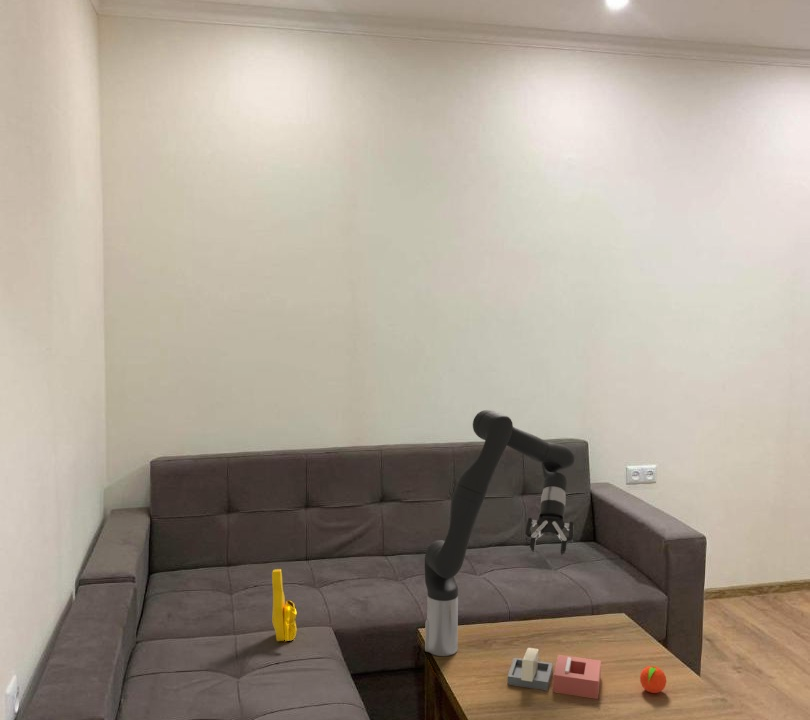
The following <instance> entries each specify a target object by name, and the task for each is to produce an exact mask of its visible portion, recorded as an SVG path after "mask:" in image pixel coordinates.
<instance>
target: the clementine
mask: <svg viewBox="0 0 810 720" xmlns="http://www.w3.org/2000/svg"><path fill="white" fill-rule="evenodd" d="M639 679H640V680H639V681H640V684H641V686H642V688H643V689H644V690H645V691H646V692H648V693H651V694H657V693H661V692H663V690H664V689H665V688H666V685H667V677H666V674H665V672H664V671H663V670H662V669H661V668H660V667H658V666H656V665H649V666H646V667H645V668H643V669H642V670H641V672H640V675H639Z"/></svg>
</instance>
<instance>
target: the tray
mask: <svg viewBox="0 0 810 720" xmlns="http://www.w3.org/2000/svg"><path fill="white" fill-rule="evenodd" d="M522 659H523V658H519V657H513V659H512V661H511V662H512V663H511V665H510V668H509V671H508V675H507V685H510V686H515V687H523V688H527V689H536V690H543V691H549V688H550V683H551V679H552V675H553V672H554V671H553V670H554V669H553V668H554V667H553V665H554V663H553V662H547V661H541V660H540V661H539V660H538V669H537V672H536V674H535V676H534V679H533V681H532V682H531V681H524V680H521V677H522Z"/></svg>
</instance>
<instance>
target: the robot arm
mask: <svg viewBox="0 0 810 720" xmlns="http://www.w3.org/2000/svg"><path fill="white" fill-rule="evenodd" d="M472 430H473V432H474V434H475V435H476V436H477V437H478V438H479V439H481V440H483V441H484V444H483V446H482V449H481V451H480V454H479V455H478V457H477V458H476V459H475V460H474V461H473V463H471V464H470V465H469V466H468V467H467V468H466V469H465V470H464V471H463V472H462V474H461V475H460V477H459V478H458V480H457V482H456V485H455V488H454V490H453V492H452V496H451V502H450V508H449V509H450V513H449V514H450V518H449V527H448V531H447V534H446V536H445V537H446V538H445V539H444V540H442V539H437V540H435V541H433V542H431V543H430V544H429V545H428V546H427V548H426V550H425V554H424V582H425V586H426V587H425V588H426V594H427V599H426V600H427V602H426V604H427V607H426V610H427V614H426V616H427V617H426V619H425V621H424V622H425V624H424V626H425V628H424V632H425V633H424V641H425V642H424V651H425V652H427V653H430V654H432V656H433V655H434V656H438V657H448V656H452V655H454V654H456V653H457V651H458V642H459V641H458V635H459V634H458V632H459V631H458V629H459V628H458V627H459V625H458V624H459V623H458V622H459V621H458V617H459V615H458V614H459V611H458V610H459V607H458V606H459V587H458V584H457V582H456V580H455V579H456V578H455V576H456V575H457V574H458V573H459V572H460V571H461V568H462V567H463V564H464V561H465V557H466V554H467V549H468V546H469V545H468V544H469V541H470V537H471V535H472V533H473V530H474V526H475V524H476V521H477V518H478V515H479V513H480V510H481V508H482V506H483V504H484V500H485V498H486V495H487V493H488V489H489V487H490V483H491V481H492V480H493V479H492V478H493V476H494V474H495V471H496V468H497V466H498V463H499V462H500V460H501V457H502V456H503V454H504V451H505V450H506V447H508V448H510V449H512V450H513V451H515V452H518V453H520V454H521V455H523V456H524V457H527V458H528V459H531V460H533V461H535V462H538V463H541V468H542V475H543V480H544V481H543V488H542V494H541V497H540V504H539V505H540V506H539V514H538V518H537V519H533V518H531V517H528V519H527V524H526V528H525V533H524V534H525V537H526V539H528V540H530V542H529V543H530V544H529V548H530V551H531V552H532V553H535V552H536V546H537V540H538V538H541V537H542V536H543V535H544V536H551V537H556V536H557V537H558V539H559V540H560V541H561V544H560V556H564V555H565V554H566V553H567V546H568V544H573V543H574V527H575V526H574V522H573V521H569V522H565V521H564V520H565V511H566V510H565V509H566V505H567V504H566V502H567V501H566V500H567V499H566V498H567V497H566V495H567V493H566V491H567V478H566V477H567V476H566V475H564V474H563V473H561V472H559V471H563V470H567V469H569V468H571V467H572V466H574V463H575V454H574V453H573V451H572V450H571V449H570V448H569V447H567V446H566V445H563V444H559V443H555V442H548V441H546V440H544V439H543V438H540V437H538V436H536V435H534V434H531V433H529V432H527V431H524V430H522V429H519V428H517V427H514V424H513V420H512V419H511V418H510V416H508V415H505V414H503V413H500V412H497V411H494V410H491V409H485V410H481V411H480V412H478V413H477V414H476V415H475V416H474V418H473V421H472ZM536 525H537V528H536V529H535V531H534V532H532V530H533V528H534V527H535V526H536ZM565 528H566V530H567V531H568V537H566V535H565V534H564V532H563V530H564V529H565Z"/></svg>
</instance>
